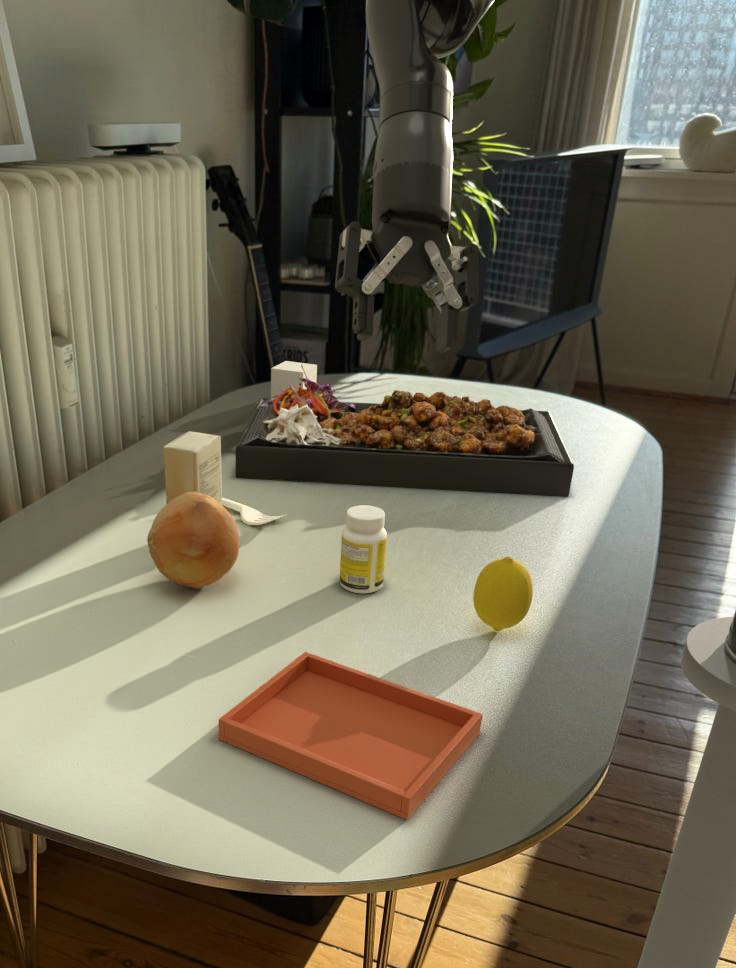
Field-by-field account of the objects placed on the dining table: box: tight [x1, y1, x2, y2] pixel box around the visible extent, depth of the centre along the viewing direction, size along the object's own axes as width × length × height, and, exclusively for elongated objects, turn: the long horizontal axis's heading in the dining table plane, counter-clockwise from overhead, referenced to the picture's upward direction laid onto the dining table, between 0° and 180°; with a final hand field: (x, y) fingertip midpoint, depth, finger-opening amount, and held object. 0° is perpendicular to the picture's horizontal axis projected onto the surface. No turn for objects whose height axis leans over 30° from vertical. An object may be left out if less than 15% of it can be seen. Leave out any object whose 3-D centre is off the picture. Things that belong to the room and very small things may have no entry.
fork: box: [222, 496, 288, 526], centre depth 119 cm, size 3×20×2 cm, turn 44°
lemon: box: [472, 555, 534, 632], centre depth 90 cm, size 6×6×8 cm
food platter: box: [234, 364, 575, 497], centre depth 135 cm, size 45×25×10 cm, turn 82°
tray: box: [217, 651, 483, 821], centre depth 76 cm, size 17×13×2 cm
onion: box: [146, 491, 241, 589], centre depth 99 cm, size 10×10×10 cm
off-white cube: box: [270, 360, 318, 398], centre depth 161 cm, size 6×6×6 cm
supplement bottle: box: [339, 504, 388, 594], centre depth 99 cm, size 5×5×8 cm
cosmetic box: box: [163, 430, 223, 506], centre depth 108 cm, size 6×4×12 cm
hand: (405, 344), depth 90 cm, fingers open, 8 cm apart
